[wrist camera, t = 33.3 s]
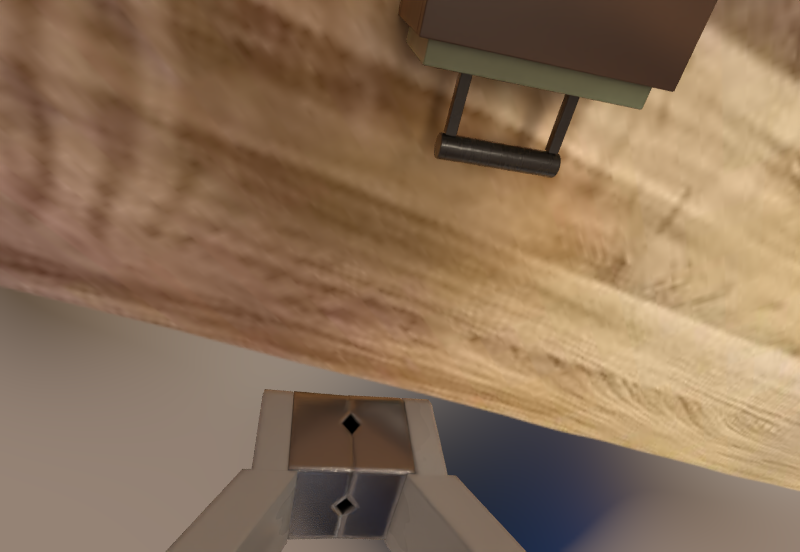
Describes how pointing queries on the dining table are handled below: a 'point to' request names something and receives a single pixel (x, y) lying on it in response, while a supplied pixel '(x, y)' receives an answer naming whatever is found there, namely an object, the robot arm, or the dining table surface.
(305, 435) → the robot arm
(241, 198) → the dining table surface
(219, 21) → the dining table surface
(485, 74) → the drawer
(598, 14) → the cabinet
